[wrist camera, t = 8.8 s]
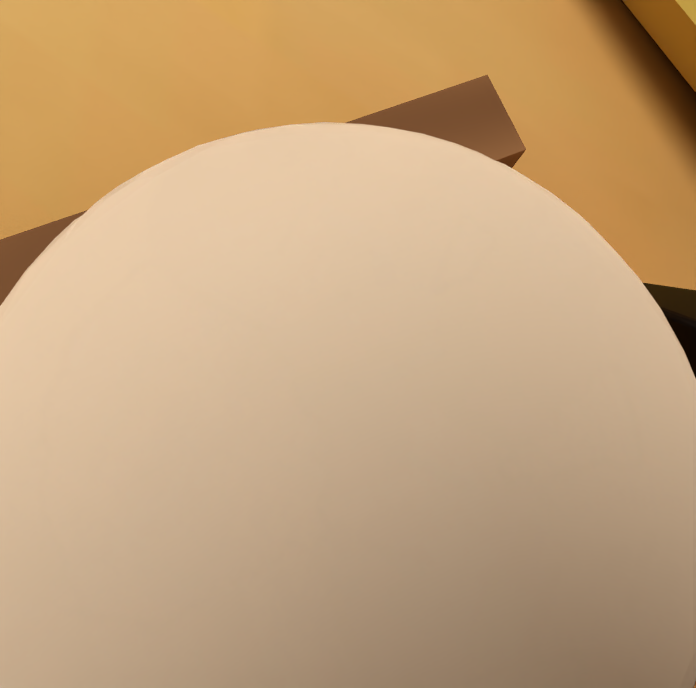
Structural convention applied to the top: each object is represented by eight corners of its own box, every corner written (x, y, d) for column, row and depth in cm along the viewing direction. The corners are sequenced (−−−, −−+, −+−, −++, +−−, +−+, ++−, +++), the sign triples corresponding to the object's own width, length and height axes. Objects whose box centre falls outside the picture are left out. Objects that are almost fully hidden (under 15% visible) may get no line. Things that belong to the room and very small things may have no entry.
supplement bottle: (373, 324, 17) (631, -97, 5) (462, 565, 16) (1096, 827, 4) (126, 402, 16) (-371, 113, 4) (204, 669, 15) (-137, 1565, 3)
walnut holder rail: (575, 429, 17) (663, 414, 13) (-523, 951, 12) (-883, 1164, 9) (442, 160, 19) (487, 74, 15) (-602, 538, 14) (-947, 560, 10)
